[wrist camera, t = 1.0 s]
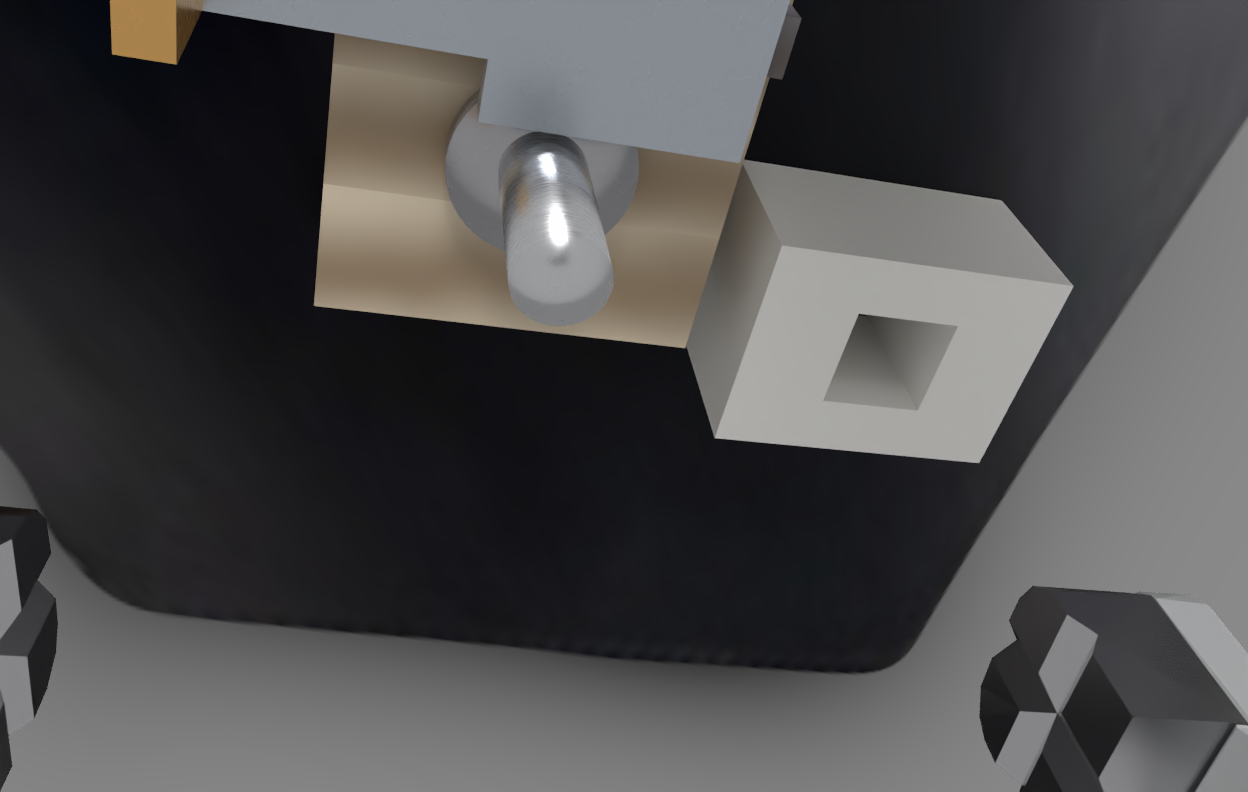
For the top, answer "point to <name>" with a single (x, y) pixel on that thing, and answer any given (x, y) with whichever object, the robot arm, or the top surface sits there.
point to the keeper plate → (544, 57)
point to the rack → (868, 315)
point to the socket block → (448, 250)
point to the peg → (542, 209)
